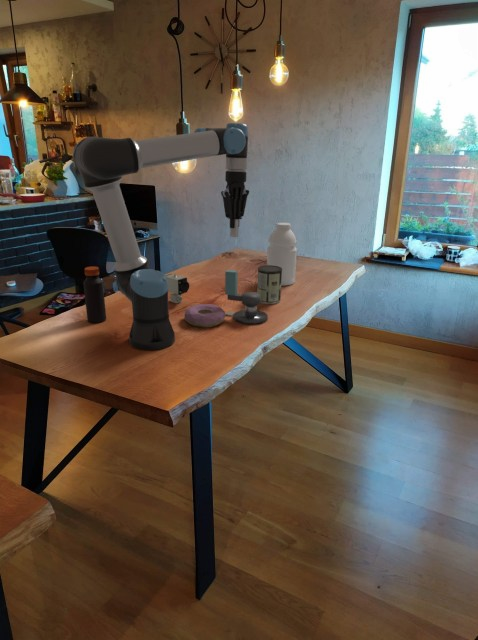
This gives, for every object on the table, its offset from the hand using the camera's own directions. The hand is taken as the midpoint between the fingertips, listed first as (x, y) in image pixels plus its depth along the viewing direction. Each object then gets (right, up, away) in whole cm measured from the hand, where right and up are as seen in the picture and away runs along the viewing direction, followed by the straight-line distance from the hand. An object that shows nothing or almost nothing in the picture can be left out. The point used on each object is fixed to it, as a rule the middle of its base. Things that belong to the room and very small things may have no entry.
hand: (234, 236), depth 170 cm
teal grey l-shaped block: (+3, -24, +3) cm, 25 cm away
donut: (-11, -32, +1) cm, 34 cm away
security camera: (-24, -24, +20) cm, 39 cm away
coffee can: (+14, -23, +24) cm, 36 cm away
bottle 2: (+22, -13, +49) cm, 56 cm away
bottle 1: (-51, -32, -1) cm, 60 cm away
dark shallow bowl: (+5, -30, +5) cm, 31 cm away
